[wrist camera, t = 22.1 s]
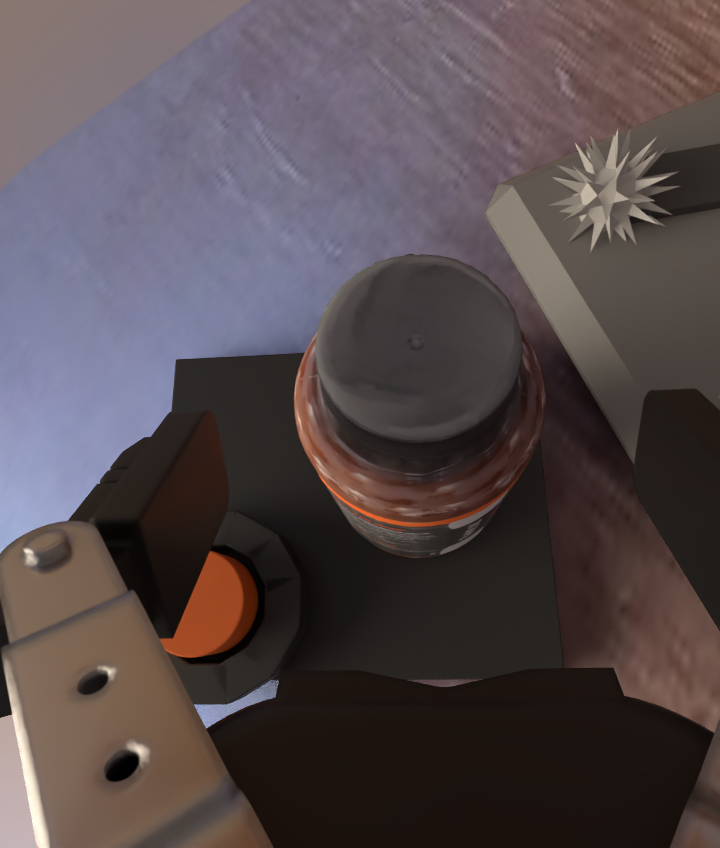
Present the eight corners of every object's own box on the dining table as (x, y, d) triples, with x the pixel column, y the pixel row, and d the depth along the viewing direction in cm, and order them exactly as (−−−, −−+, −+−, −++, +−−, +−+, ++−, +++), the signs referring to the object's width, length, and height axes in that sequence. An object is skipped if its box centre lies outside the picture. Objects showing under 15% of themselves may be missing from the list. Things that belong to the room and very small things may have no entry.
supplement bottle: (511, 554, 21) (607, 488, 10) (340, 566, 22) (263, 514, 11) (490, 392, 23) (552, 194, 12) (332, 406, 23) (259, 226, 13)
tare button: (161, 654, 20) (137, 658, 18) (168, 555, 21) (147, 549, 19) (257, 654, 20) (242, 657, 18) (260, 553, 21) (246, 547, 19)
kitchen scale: (148, 693, 22) (108, 704, 19) (175, 372, 26) (145, 342, 23) (558, 692, 21) (580, 704, 18) (524, 355, 25) (537, 321, 22)
